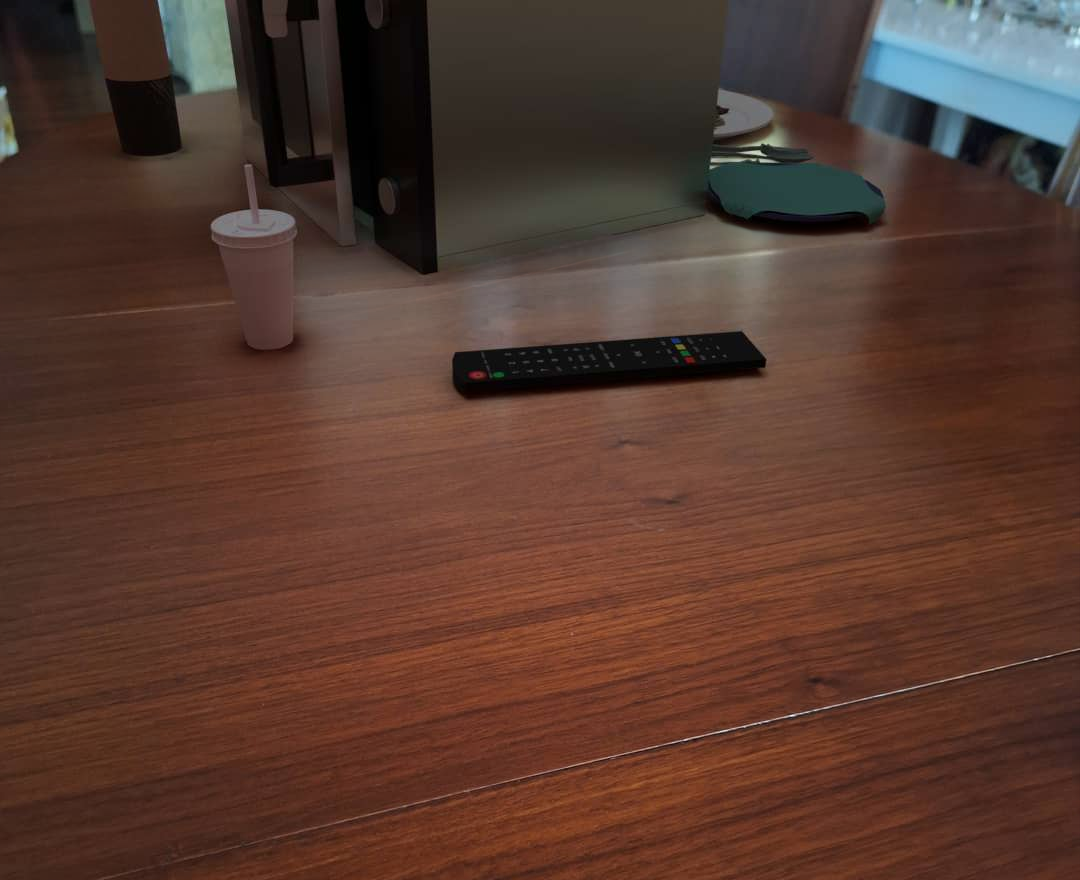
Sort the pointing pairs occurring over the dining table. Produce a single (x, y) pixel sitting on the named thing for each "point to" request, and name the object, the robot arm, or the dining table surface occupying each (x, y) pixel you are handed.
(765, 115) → the plated food
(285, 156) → the microwave door
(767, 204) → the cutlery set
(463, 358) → the remote control
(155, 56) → the travel mug
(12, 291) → the dining table surface
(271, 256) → the smoothie
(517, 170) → the microwave
